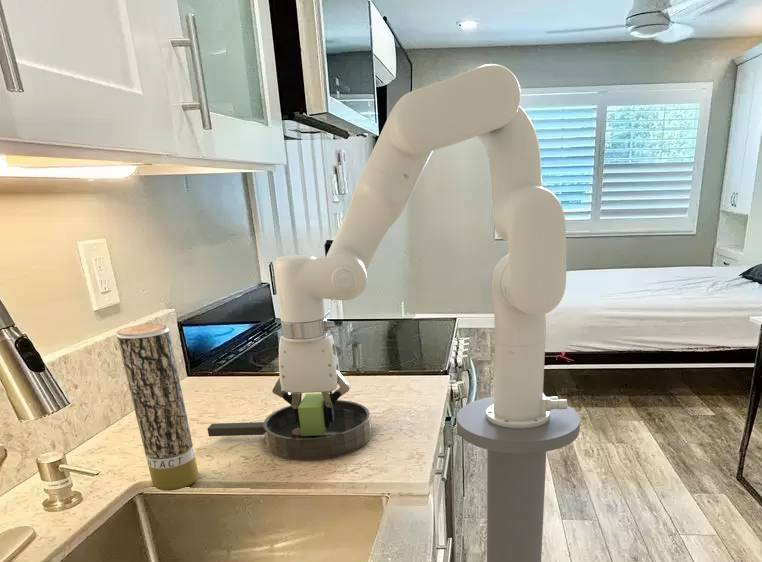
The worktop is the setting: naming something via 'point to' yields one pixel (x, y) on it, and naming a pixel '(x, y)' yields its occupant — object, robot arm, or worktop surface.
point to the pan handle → (236, 429)
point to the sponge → (312, 415)
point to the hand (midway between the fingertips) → (315, 424)
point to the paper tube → (158, 405)
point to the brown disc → (298, 434)
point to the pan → (337, 440)
